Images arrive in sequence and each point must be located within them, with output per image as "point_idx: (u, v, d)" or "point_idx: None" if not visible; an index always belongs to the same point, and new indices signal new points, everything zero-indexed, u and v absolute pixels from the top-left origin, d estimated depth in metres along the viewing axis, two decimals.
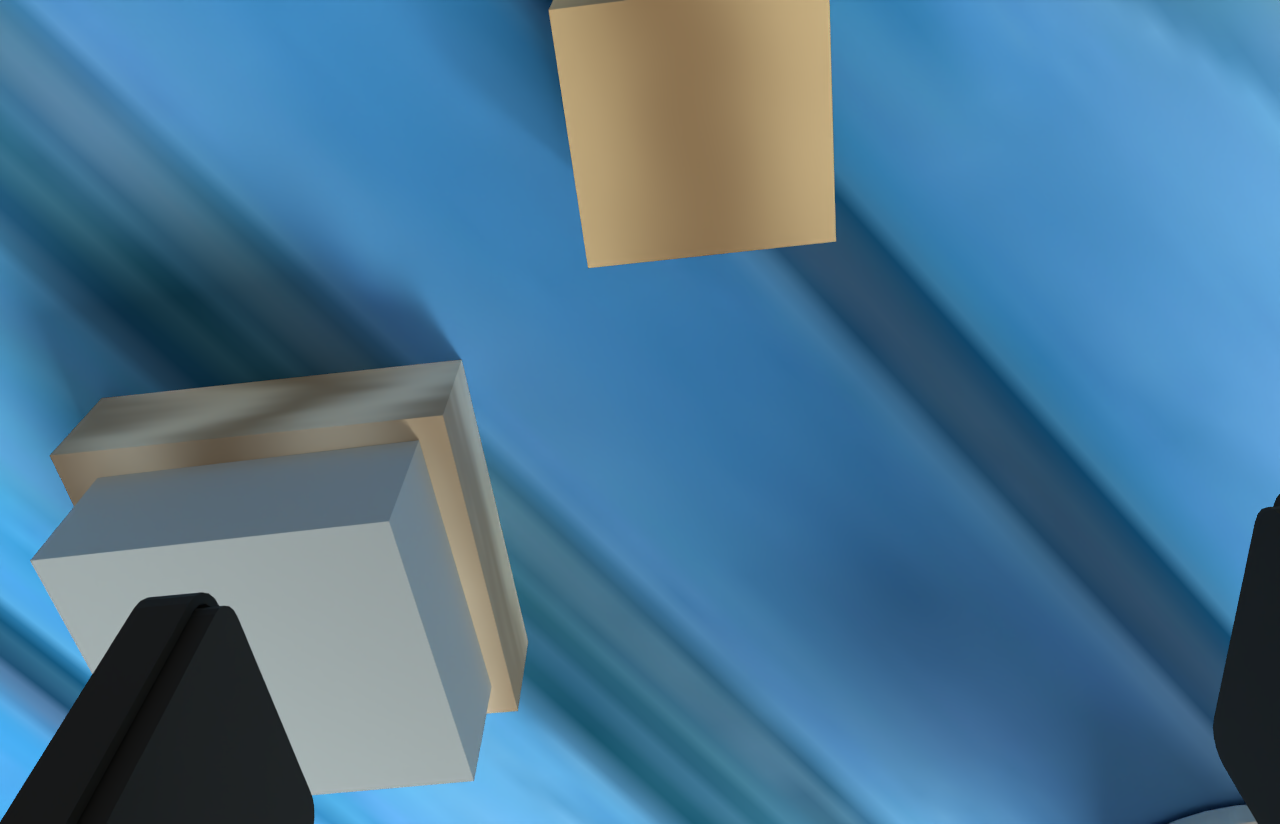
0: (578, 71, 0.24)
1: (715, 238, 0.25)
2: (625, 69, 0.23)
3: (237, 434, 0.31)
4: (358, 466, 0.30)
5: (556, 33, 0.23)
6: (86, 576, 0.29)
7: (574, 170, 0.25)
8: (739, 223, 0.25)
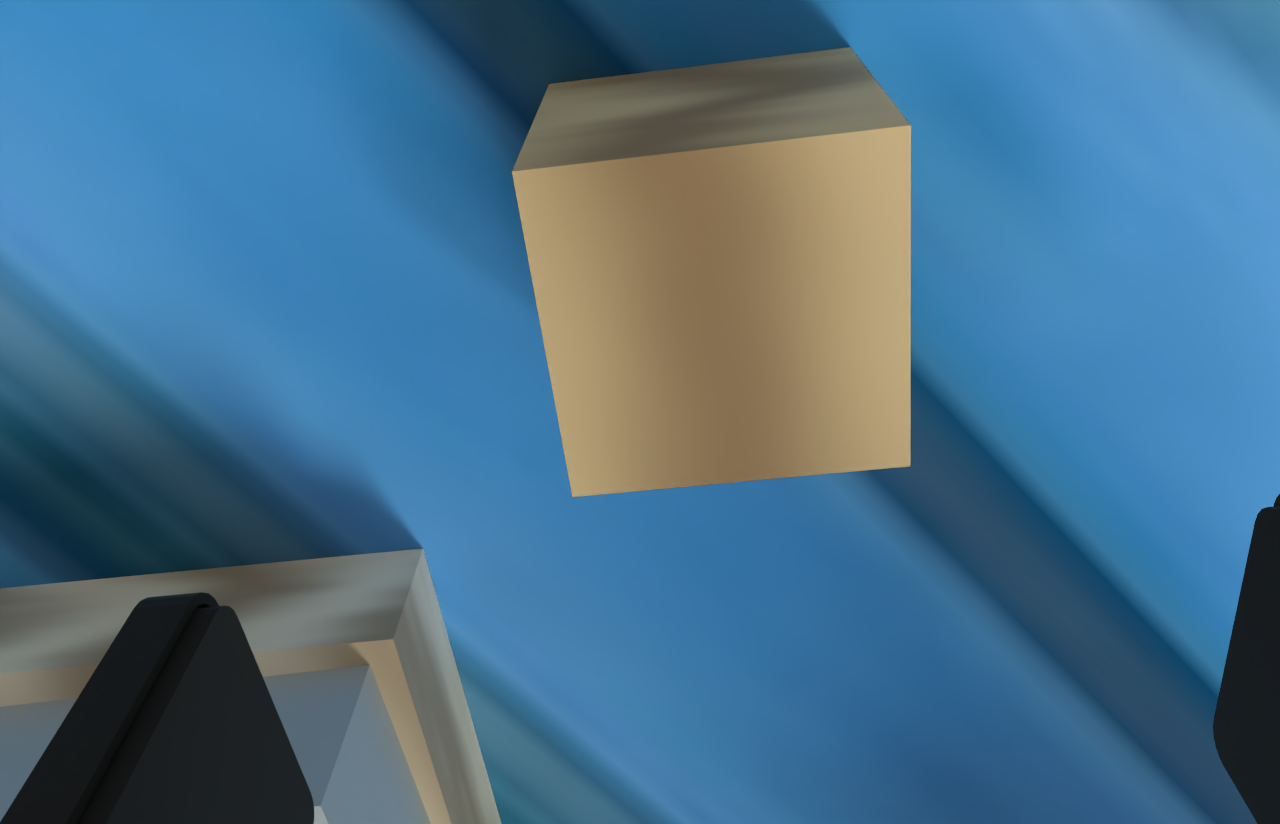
0: (556, 251, 0.17)
1: (745, 461, 0.19)
2: (621, 248, 0.17)
3: None
4: (291, 706, 0.24)
5: (523, 202, 0.16)
6: None
7: (551, 377, 0.18)
8: (778, 443, 0.18)
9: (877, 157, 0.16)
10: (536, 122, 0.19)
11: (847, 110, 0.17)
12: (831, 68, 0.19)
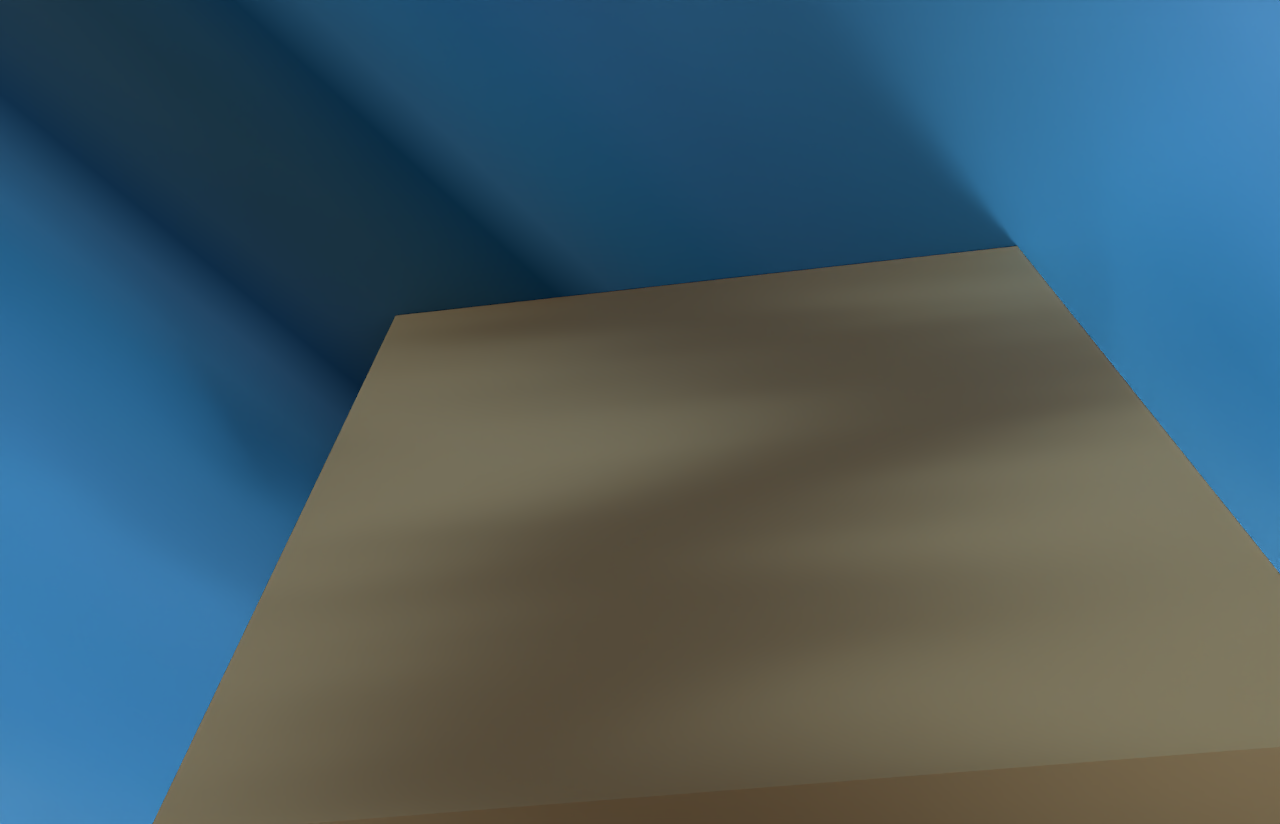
0: None
1: None
2: None
3: None
4: None
5: None
6: None
7: None
8: None
9: None
10: (316, 498, 0.08)
11: (1136, 579, 0.06)
12: (1004, 331, 0.09)
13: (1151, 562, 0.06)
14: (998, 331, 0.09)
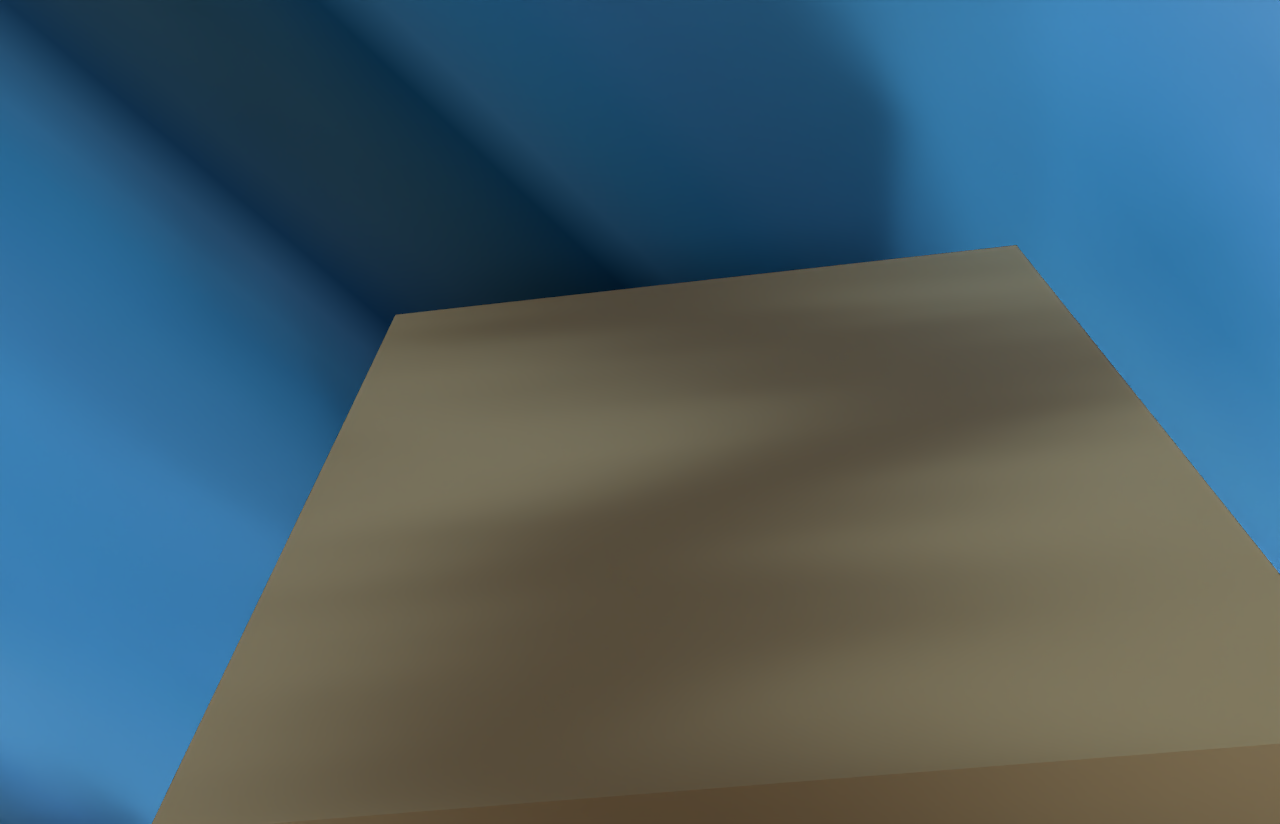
0: None
1: None
2: None
3: None
4: None
5: None
6: None
7: None
8: None
9: (1278, 803, 0.05)
10: (316, 497, 0.08)
11: (1134, 577, 0.06)
12: (1004, 330, 0.09)
13: (1149, 560, 0.06)
14: (997, 330, 0.09)
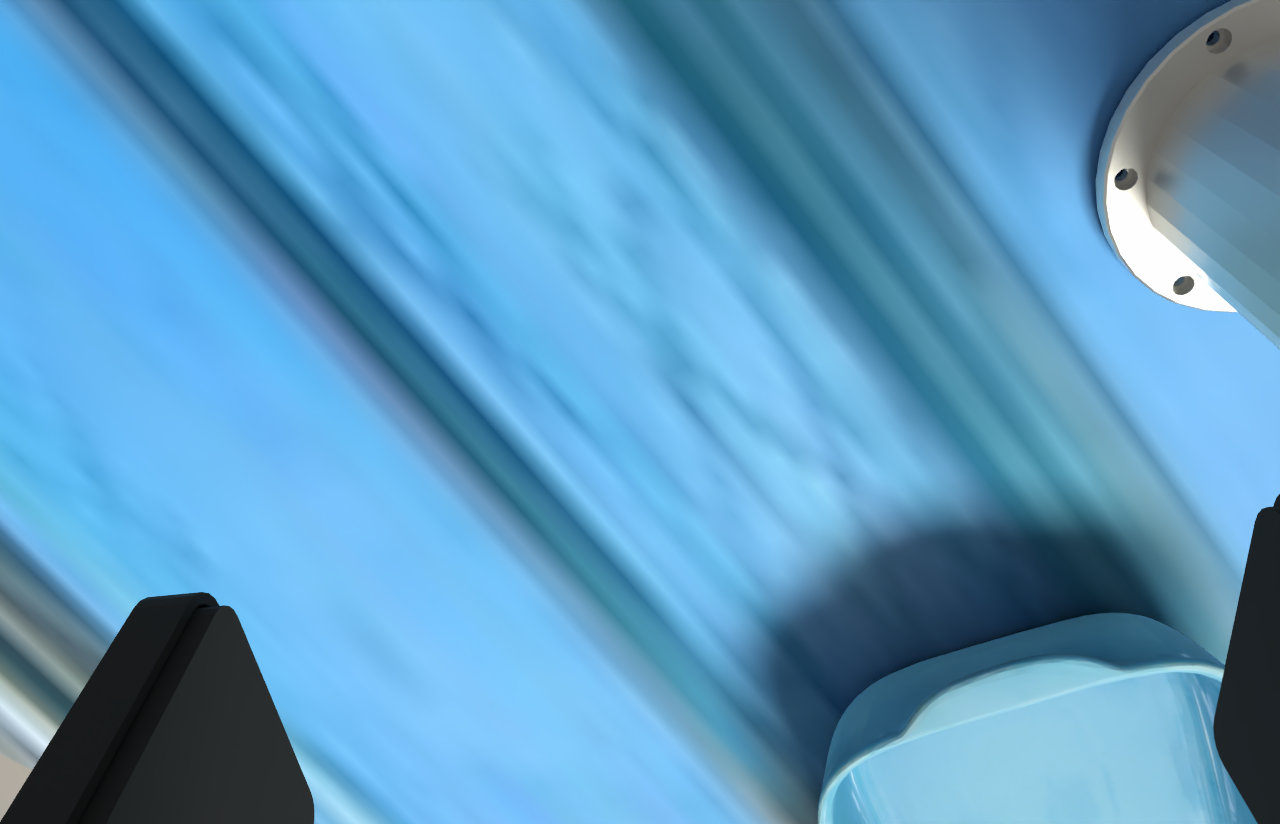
0: None
1: None
2: None
3: None
4: None
5: None
6: None
7: None
8: None
9: None
10: None
11: None
12: None
13: None
14: None
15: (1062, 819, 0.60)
